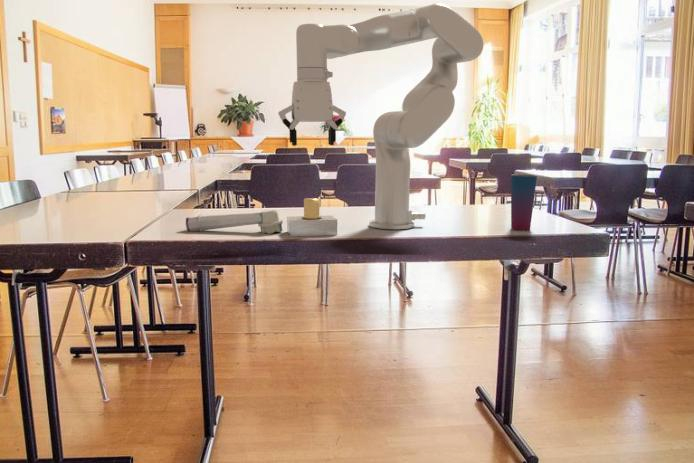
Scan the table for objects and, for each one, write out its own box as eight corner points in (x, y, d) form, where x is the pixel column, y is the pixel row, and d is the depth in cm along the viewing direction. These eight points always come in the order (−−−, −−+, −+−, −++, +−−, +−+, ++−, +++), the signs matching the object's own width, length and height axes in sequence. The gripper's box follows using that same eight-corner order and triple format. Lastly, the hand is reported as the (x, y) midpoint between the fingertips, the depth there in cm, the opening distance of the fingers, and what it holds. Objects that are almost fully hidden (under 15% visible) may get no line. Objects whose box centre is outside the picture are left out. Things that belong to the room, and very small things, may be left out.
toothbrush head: (190, 215, 158) (281, 204, 156) (194, 239, 159) (285, 228, 158) (183, 218, 153) (278, 206, 151) (188, 243, 154) (282, 232, 152)
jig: (331, 230, 159) (331, 215, 158) (337, 234, 152) (337, 219, 152) (287, 231, 156) (286, 216, 155) (291, 236, 149) (290, 220, 149)
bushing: (317, 231, 157) (317, 197, 155) (320, 234, 153) (320, 199, 151) (302, 232, 156) (302, 198, 154) (305, 235, 152) (305, 200, 150)
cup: (523, 226, 168) (527, 173, 165) (538, 230, 162) (542, 176, 159) (503, 227, 166) (506, 174, 163) (517, 231, 159) (520, 176, 157)
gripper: (341, 77, 154) (341, 144, 157) (275, 76, 149) (277, 145, 152) (349, 75, 147) (349, 145, 150) (279, 74, 142) (281, 146, 145)
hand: (312, 145), depth 151 cm, fingers open, 9 cm apart
